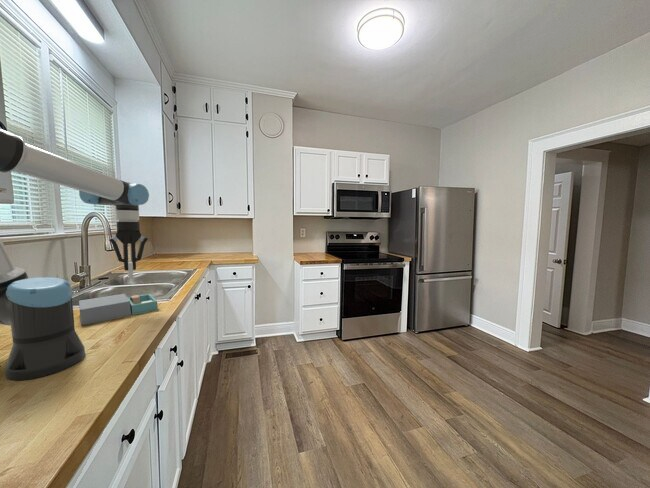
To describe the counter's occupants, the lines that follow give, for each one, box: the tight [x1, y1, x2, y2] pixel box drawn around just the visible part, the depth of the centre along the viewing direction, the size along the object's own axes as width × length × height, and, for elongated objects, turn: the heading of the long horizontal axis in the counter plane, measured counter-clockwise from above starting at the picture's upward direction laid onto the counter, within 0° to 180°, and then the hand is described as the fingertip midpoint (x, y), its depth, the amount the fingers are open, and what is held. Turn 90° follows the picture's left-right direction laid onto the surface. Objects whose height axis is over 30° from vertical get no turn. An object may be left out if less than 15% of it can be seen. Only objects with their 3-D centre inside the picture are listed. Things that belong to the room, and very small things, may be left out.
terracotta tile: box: [130, 294, 140, 305], centre depth 118 cm, size 4×4×2 cm
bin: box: [127, 293, 158, 316], centre depth 117 cm, size 9×14×4 cm, turn 44°
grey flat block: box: [78, 293, 132, 326], centre depth 108 cm, size 15×14×6 cm
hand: (130, 277), depth 110 cm, fingers closed
